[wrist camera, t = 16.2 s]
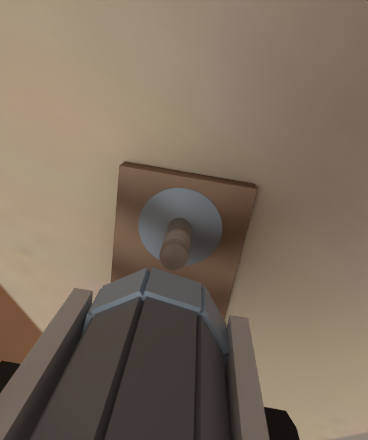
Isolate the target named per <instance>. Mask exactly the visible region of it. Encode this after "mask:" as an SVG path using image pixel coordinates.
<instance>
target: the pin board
mask: <svg viewBox="0 0 368 440" xmlns="http://www.w3.org/2000/svg"><path fill="white" fill-rule="evenodd" d="M257 190H258V189H257V187H256V185H255V184H252V183H246V182H241V181H235V180H229V179H223V178H217V177H211V176H205V175H200V174H194V173H188V172H182V171H176V170H170V169H165V168H159V167H153V166H147V165H141V164H135V163H129V162H124V163H122V164H121V165H120V166H119V178H118V191H117V205H116V219H115V232H114V246H113V259H112V273H111V282H114V281H116V280H118V279H121V278H123V277H126V276H128V275H130V274H133V273H135V272H137V271H140V270H142V269H145V268H148V270H149V272H151V269H152V267H153V268H156V269H159V270H162V271H165V272H168V273H171V274H175V275H178V276H181V277H184V278H187V279H190V280H194V281H197V282H200V283H201V287H204V286H206V288H207V290H208V292H209V294H210V296H211V297H212V299H213V301H214V303H215V305H216V306H217V308H218V310H219V312H220V314H221V316H222V317H223V319H224V318H225V314H226V310H227V306H228V302H229V299H230V295H231V291H232V287H233V283H234V279H235V275H236V271H237V267H238V264H239V260H240V256H241V252H242V248H243V244H244V240H245V236H246V233H247V229H248V225H249V221H250V217H251V213H252V209H253V205H254V202H255V198H256V194H257Z"/></svg>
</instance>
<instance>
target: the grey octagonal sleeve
mask: <svg viewBox="0 0 368 440" xmlns="http://www.w3.org/2000/svg"><path fill="white" fill-rule="evenodd" d="M227 353H229V349H228V338H227V328H226V323H225V321H224V319H223V317H222V316H221V314H220V312H219V310H218V308H217V306H216V305H215V303H214V301H213V299H212V297H211V296H210V294H209V292H208V290H207V288H206V286H204V287H201V283H200V282H197V281H194V280H190V279H187V278H184V277H181V276H178V275H175V274H171V273H168V272H165V271H162V270H159V269H156V268H153V267H152V269H151V272H149V270H148V268H145V269H142V270H140V271H137V272H135V273H133V274H130V275H128V276H126V277H123V278H121V279H118V280H116V281H114V282H111V283H109V284H107V285H104V286H103V287H102V289H100V291H99V293H98V295H97V296H96V298H95V300H94V302H93V304H92V306H91V307H90V309H89V311H88V313H87V316H86V320H85V324H84V327H83V331H82V335H81V339H80V341H79V343H78V345H77V347H76V349H75V351H74V353H73V355H72V357H71V359H70V361H69V363H68V365H67V367H66V369H65V371H64V373H63V375H62V377H61V379H60V381H59V383H58V385H57V387H56V389H55V390H54V392H53V394H52V396H51V398H50V400H49V402H48V404H47V406H46V408H45V410H44V412H43V414H42V416H41V418H40V420H39V422H38V424H37V426H36V428H35V430H34V432H33V434H32V436H31V438H30V439H29V440H230V430H229V418H228V406H227V393H226V381H225V369H224V366H225V364H226V361H227V357H228V354H227Z"/></svg>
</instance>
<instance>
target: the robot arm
mask: <svg viewBox="0 0 368 440" xmlns="http://www.w3.org/2000/svg"><path fill="white" fill-rule="evenodd" d="M92 293H93V291H90V290H84V289H78V288H74V290H73V291H72V293H71V294H70V295H69V297H68V298H67V300H66V301H65V303H64V304H63V305H62V307H61V308H60V310H59V311H58V312H57V314H56V315H55V317H54V318H53V319H52V321H51V322H50V324H49V325H48V327H47V328H46V329H45V331H44V332H43V334H42V335H41V337H40V338H39V339H38V341H37V342H36V344H35V345H34V346H33V348H32V349H31V351H30V352H29V353H28V355H27V356H26V358H25V359H24V361H23V362H22V364H17V363H11V362H5V361H1V362H0V440H29V439H30V438H31V436H32V434H33V432H34V430H35V428H36V426H37V424H38V422H39V420H40V418H41V416H42V414H43V412H44V410H45V408H46V406H47V404H48V402H49V400H50V398H51V396H52V394H53V392H54V390H55V389H56V387H57V385H58V383H59V381H60V379H61V377H62V375H63V373H64V371H65V369H66V367H67V365H68V363H69V361H70V359H71V357H72V355H73V353H74V351H75V349H76V347H77V345H78V343H79V341H80V339H81V335H82V331H83V327H84V324H85V320H86V316H87V313H88V311H89V309H90V307H91V306H92ZM227 338H228V349H229V353H227V354H228V357H227V361H226V364H225V366H224V369H225V381H226V393H227V406H228V418H229V430H230V440H300V439H299V436H298V432H297V428H296V426H295V425H294V423H293V422H292V420H291V418H290V417H289V415H288V413H287V412H286V411H284V410H278V409H273V408H267V407H264V406H263V400H262V394H261V389H260V383H259V377H258V372H257V366H256V361H255V355H254V349H253V344H252V338H251V333H250V327H249V321H248V318H243V317H237V316H232V315H230V317H229V321H228V325H227Z"/></svg>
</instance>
